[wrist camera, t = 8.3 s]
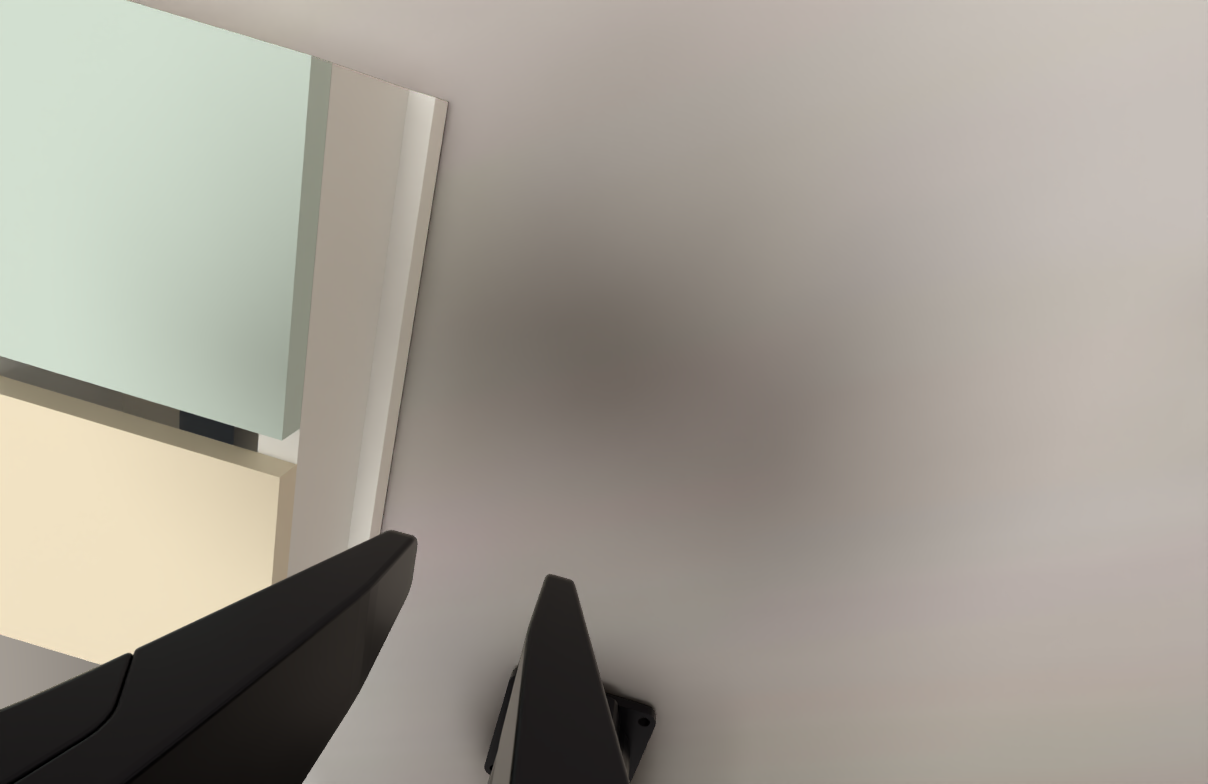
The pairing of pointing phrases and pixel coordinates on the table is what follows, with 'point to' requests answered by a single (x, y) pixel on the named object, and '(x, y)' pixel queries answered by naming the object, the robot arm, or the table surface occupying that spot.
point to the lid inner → (127, 524)
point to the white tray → (341, 315)
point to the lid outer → (159, 206)
